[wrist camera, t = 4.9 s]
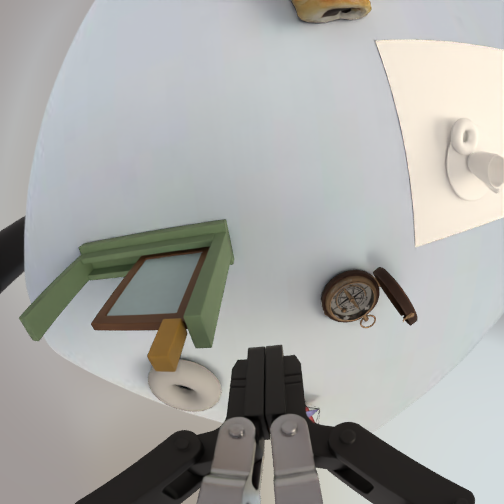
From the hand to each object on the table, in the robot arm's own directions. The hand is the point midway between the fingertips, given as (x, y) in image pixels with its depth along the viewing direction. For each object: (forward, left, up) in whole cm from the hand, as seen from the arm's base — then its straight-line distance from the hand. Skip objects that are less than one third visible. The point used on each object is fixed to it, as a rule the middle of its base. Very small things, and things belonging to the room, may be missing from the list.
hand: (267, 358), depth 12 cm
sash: (-8, 0, -13) cm, 15 cm away
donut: (-13, -19, -14) cm, 27 cm away
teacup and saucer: (+23, +8, -14) cm, 28 cm away
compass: (+9, -8, -14) cm, 19 cm away
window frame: (-11, 0, -14) cm, 18 cm away
